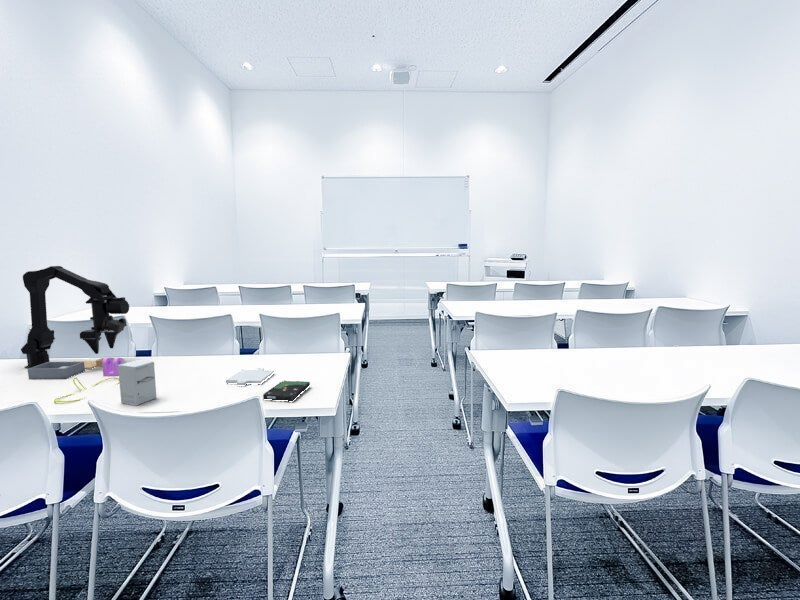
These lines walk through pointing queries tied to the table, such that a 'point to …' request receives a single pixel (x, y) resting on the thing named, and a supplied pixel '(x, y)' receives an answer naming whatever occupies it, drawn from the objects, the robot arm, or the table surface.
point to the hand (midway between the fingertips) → (104, 350)
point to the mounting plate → (249, 376)
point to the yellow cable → (80, 390)
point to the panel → (56, 370)
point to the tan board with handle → (92, 363)
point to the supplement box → (137, 382)
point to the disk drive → (286, 390)
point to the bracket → (111, 366)
